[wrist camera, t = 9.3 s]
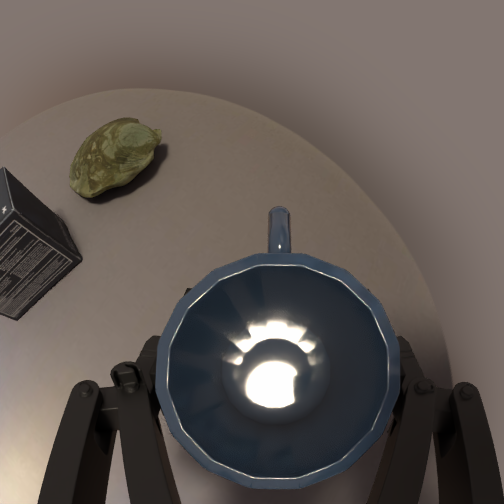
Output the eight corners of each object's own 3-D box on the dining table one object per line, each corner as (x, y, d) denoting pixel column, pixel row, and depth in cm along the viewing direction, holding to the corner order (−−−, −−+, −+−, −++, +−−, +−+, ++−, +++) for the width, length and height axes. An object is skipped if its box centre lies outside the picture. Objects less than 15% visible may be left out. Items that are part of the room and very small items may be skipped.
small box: (62, 215, 30) (3, 160, 20) (84, 260, 28) (16, 209, 18) (0, 275, 28) (-65, 239, 18) (16, 323, 26) (-59, 295, 16)
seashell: (72, 131, 32) (98, 77, 25) (127, 139, 37) (164, 93, 30) (67, 212, 30) (89, 169, 23) (128, 215, 35) (167, 179, 28)
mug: (334, 428, 19) (395, 479, 8) (214, 427, 20) (153, 477, 9) (333, 272, 23) (380, 180, 12) (221, 271, 24) (176, 180, 13)
